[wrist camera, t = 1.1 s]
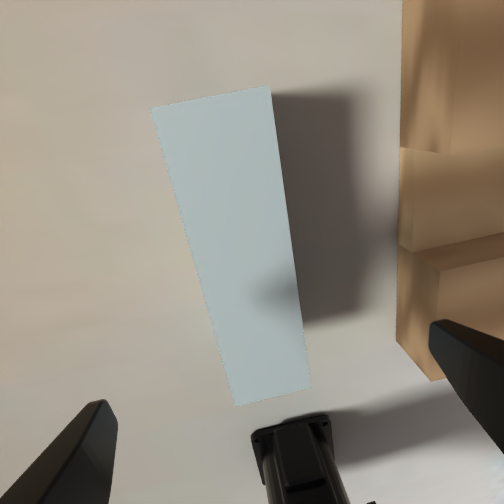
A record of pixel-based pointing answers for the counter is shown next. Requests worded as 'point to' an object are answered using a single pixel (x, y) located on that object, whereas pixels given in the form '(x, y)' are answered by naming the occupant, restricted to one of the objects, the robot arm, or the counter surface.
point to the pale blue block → (239, 235)
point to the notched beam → (450, 172)
